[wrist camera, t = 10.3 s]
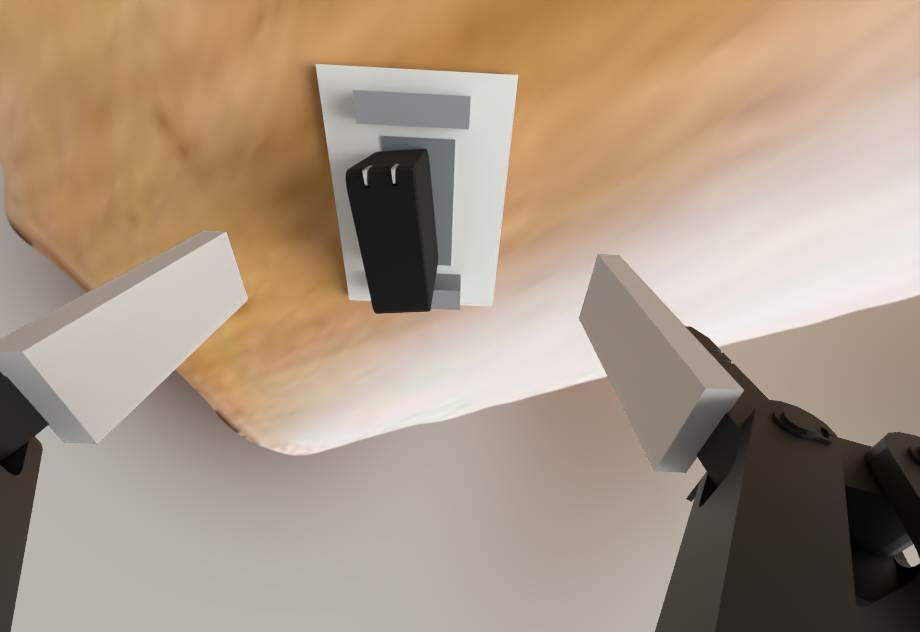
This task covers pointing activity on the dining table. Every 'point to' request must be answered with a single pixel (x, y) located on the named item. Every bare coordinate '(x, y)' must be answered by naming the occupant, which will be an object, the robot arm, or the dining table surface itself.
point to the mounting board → (450, 155)
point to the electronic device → (395, 228)
